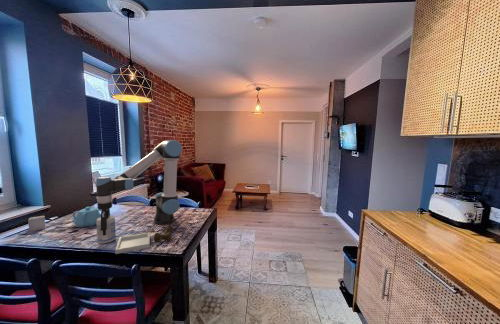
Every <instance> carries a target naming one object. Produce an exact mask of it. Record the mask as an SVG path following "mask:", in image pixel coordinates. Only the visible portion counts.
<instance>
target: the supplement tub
mask: <svg viewBox="0 0 500 324" xmlns="http://www.w3.org/2000/svg"><path fill="white" fill-rule="evenodd" d="M115 219H116V218H115V216H114V215H110V216H108V218H107V220H106V221H107V233H108V240H103V241H102V231H100V229H101V217H100V218H98V219H97V221H96V224H95V225H96V240H97V243H98V244H107V243H112V242H114V240H115V239H117V233H116V220H115Z"/></svg>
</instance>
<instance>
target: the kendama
mask: <svg viewBox="0 0 500 324" xmlns="http://www.w3.org/2000/svg"><path fill="white" fill-rule="evenodd" d="M173 230H174V229H173V226H172V225H167V226H165V228H164V229H163V233H159V232H155V233H154V235H153V241H154V242H155V243H157V242H161V241H163V240H164V241H167V242H169V241H170V242H171V241H172V233H173Z"/></svg>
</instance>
